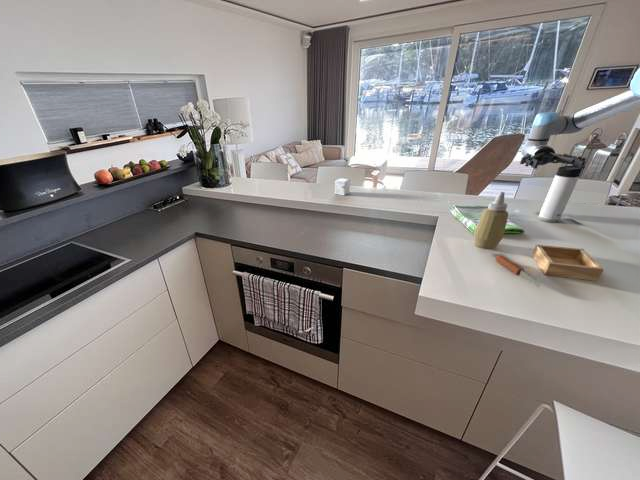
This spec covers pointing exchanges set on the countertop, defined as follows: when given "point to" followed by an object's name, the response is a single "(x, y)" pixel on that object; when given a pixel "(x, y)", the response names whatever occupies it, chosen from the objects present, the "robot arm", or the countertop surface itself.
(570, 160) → the robot arm
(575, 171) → the travel mug
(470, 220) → the dish towel
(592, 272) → the wooden tray
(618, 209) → the countertop surface
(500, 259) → the kitchen knife
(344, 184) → the product carton
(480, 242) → the squeeze bottle
